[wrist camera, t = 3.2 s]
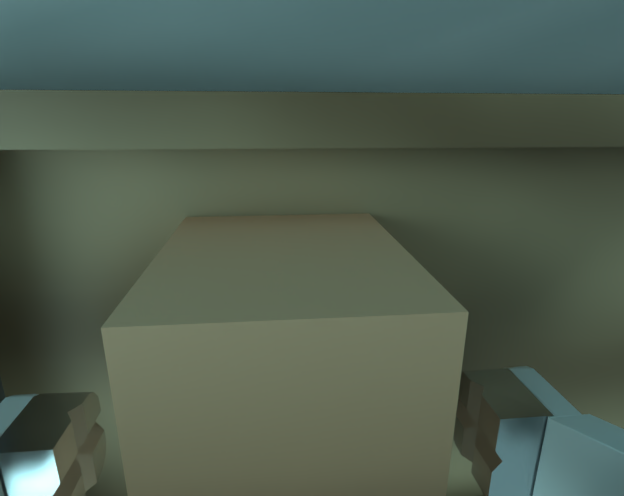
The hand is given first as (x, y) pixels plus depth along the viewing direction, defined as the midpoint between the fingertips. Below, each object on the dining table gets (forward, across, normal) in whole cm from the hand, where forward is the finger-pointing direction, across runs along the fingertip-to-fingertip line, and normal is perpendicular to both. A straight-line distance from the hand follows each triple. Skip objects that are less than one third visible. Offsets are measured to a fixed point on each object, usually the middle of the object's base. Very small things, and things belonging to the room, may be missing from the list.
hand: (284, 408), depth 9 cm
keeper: (+2, 0, 0) cm, 2 cm away
